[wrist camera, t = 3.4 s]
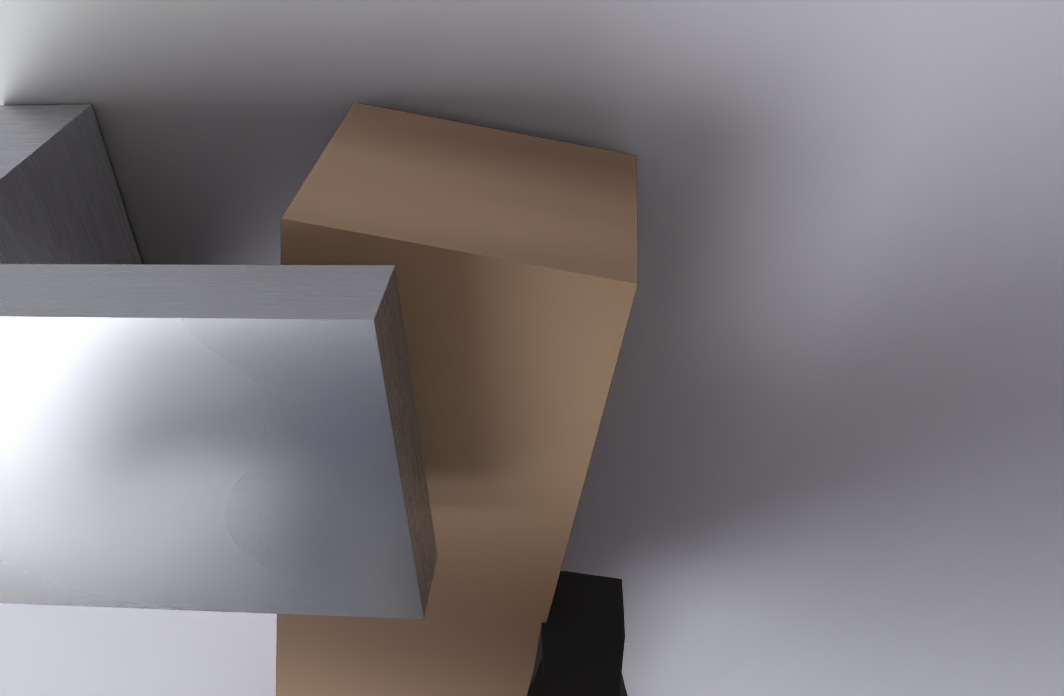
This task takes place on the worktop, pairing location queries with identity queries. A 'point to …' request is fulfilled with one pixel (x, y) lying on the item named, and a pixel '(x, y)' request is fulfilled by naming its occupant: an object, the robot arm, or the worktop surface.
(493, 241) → the link
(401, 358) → the bracket
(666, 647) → the worktop surface
